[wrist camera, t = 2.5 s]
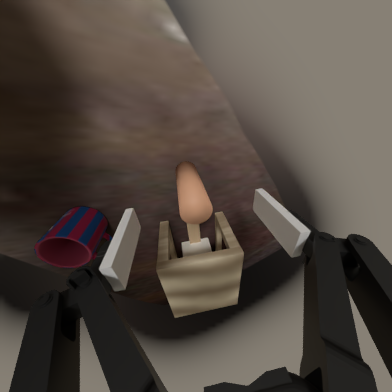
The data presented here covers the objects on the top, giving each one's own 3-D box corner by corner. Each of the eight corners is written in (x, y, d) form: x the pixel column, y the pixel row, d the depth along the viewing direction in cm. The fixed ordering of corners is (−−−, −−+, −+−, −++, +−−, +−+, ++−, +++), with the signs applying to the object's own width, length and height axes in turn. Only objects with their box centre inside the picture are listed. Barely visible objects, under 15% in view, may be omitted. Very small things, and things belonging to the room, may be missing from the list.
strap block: (165, 164, 23) (163, 202, 14) (203, 159, 24) (225, 193, 14) (184, 259, 36) (190, 312, 27) (208, 254, 37) (222, 305, 27)
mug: (78, 199, 24) (50, 228, 18) (130, 229, 29) (121, 260, 23) (56, 222, 26) (24, 256, 20) (109, 247, 30) (95, 280, 25)
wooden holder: (159, 221, 29) (156, 270, 20) (222, 210, 30) (243, 252, 21) (173, 269, 37) (174, 317, 29) (221, 259, 38) (237, 303, 30)
